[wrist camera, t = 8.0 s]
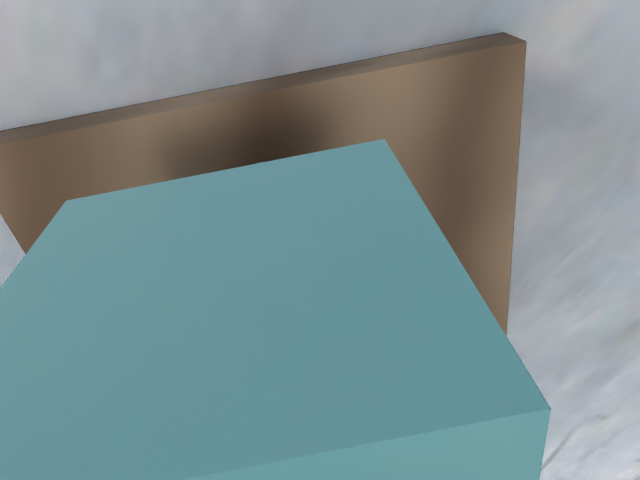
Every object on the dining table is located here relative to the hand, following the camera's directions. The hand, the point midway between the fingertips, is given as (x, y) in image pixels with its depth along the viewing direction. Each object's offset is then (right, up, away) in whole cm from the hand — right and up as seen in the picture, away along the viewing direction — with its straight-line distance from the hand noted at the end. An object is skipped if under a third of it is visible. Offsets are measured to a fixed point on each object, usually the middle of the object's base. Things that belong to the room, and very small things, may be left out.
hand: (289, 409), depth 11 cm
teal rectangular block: (0, 0, +1) cm, 1 cm away
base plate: (-1, +4, +6) cm, 7 cm away
